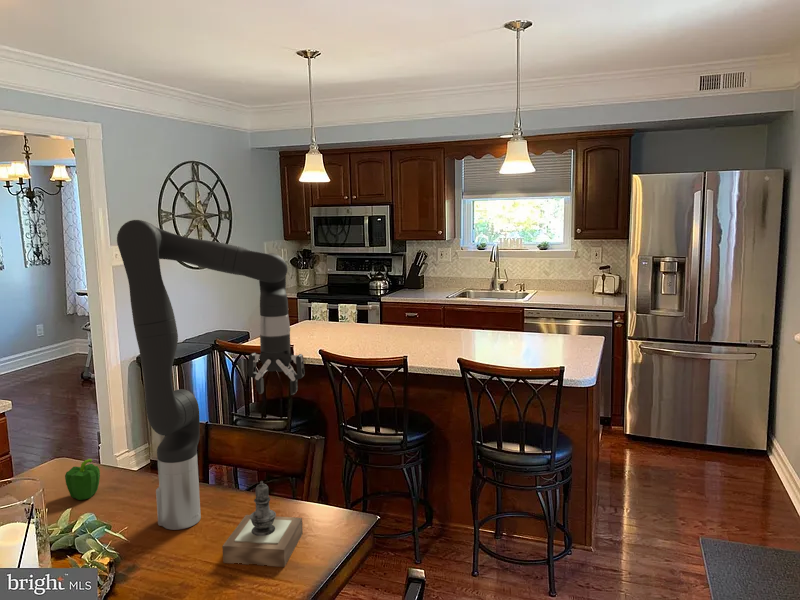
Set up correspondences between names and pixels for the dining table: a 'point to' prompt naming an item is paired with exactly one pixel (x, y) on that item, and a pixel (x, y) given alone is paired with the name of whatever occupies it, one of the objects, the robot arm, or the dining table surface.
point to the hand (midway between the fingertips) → (277, 393)
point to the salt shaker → (262, 512)
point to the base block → (263, 543)
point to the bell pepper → (83, 480)
